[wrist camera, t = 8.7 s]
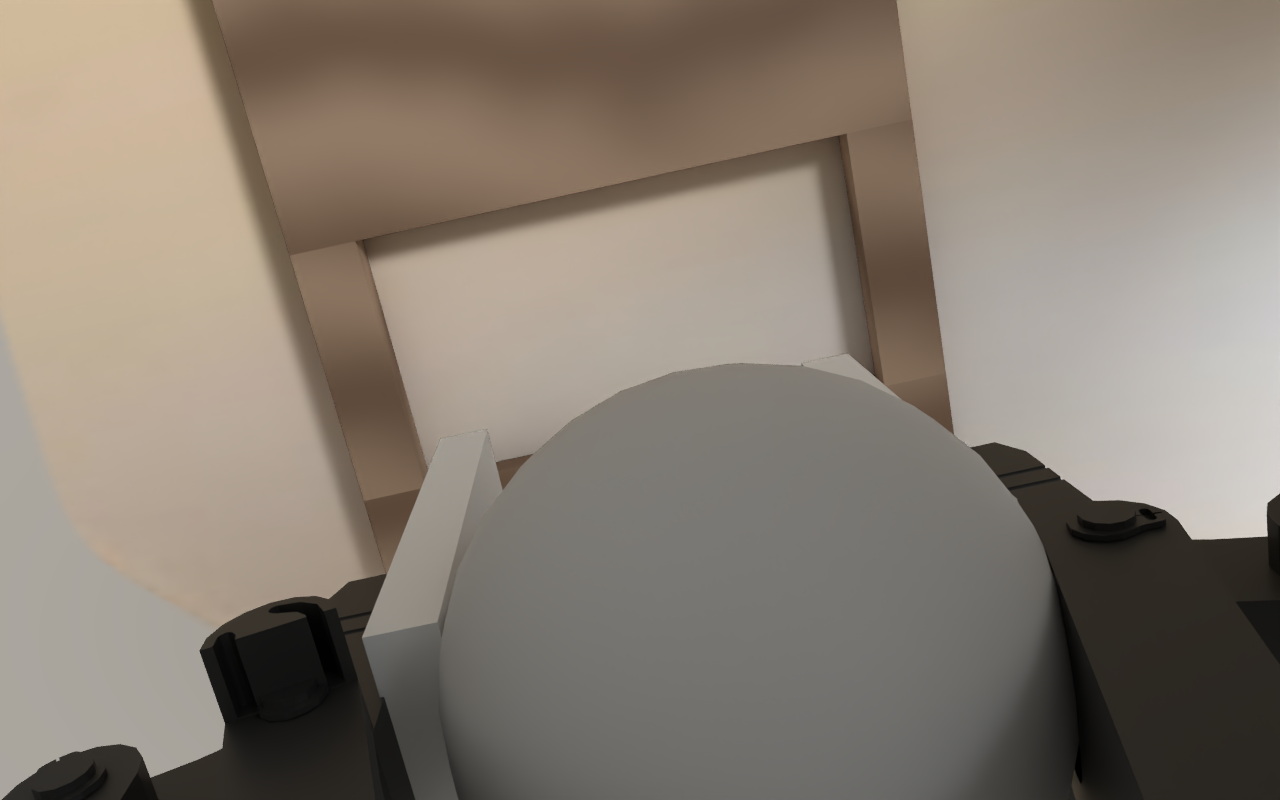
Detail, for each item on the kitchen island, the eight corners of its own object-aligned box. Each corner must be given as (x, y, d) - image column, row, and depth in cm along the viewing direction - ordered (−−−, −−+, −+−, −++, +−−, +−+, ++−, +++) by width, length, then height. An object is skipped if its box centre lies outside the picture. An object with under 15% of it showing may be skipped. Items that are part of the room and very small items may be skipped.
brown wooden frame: (204, -60, 30) (192, -66, 29) (858, -202, 30) (868, -213, 29) (394, 572, 35) (389, 585, 34) (946, 450, 35) (957, 459, 34)
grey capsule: (850, 558, 19) (1271, 1085, 8) (523, 645, 19) (534, 1307, 8) (787, 229, 17) (1208, 367, 7) (429, 318, 17) (289, 608, 7)
